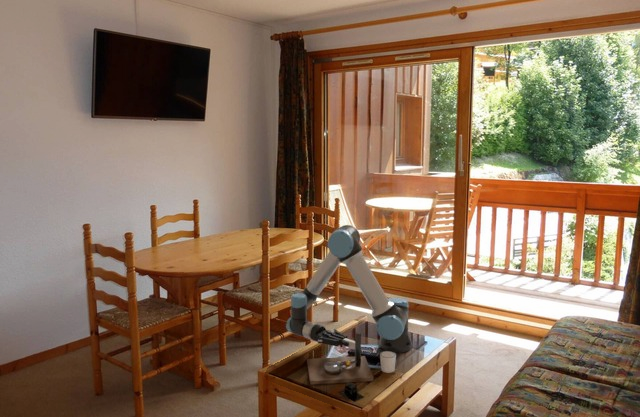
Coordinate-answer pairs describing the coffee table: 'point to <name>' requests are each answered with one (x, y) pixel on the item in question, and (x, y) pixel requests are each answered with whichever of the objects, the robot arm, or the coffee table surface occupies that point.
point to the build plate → (351, 392)
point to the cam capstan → (335, 366)
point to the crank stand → (346, 374)
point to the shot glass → (387, 361)
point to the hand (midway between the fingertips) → (356, 345)
